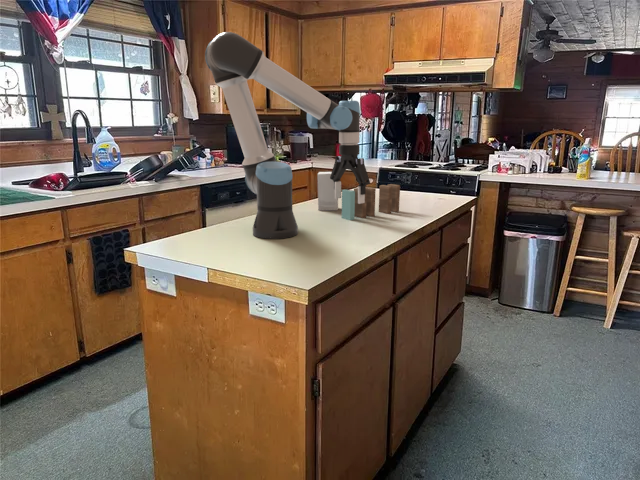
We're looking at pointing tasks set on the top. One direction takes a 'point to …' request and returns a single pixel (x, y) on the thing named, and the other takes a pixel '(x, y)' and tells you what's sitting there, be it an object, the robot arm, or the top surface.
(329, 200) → the skincare box
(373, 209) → the domino
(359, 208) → the domino
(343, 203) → the teal tile
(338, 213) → the top surface
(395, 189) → the domino
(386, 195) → the domino
